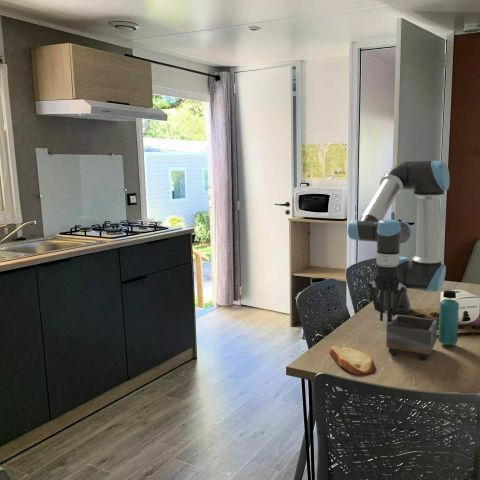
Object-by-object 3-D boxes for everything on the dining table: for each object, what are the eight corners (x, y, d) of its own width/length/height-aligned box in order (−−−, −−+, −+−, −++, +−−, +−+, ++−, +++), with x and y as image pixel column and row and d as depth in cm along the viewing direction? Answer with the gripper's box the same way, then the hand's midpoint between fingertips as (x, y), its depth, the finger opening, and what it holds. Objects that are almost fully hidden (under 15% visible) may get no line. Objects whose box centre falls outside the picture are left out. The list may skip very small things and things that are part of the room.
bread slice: (332, 349, 178) (332, 339, 177) (383, 358, 169) (383, 347, 168) (313, 367, 162) (313, 356, 162) (369, 379, 154) (369, 367, 153)
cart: (395, 341, 182) (396, 314, 181) (435, 348, 175) (437, 319, 174) (385, 355, 170) (386, 325, 169) (429, 362, 163) (430, 332, 162)
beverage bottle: (459, 349, 174) (462, 293, 171) (439, 348, 176) (441, 293, 173) (455, 342, 181) (458, 289, 178) (435, 341, 182) (438, 288, 179)
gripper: (365, 265, 172) (364, 330, 176) (404, 268, 166) (402, 336, 170) (371, 261, 179) (369, 324, 183) (409, 264, 172) (406, 329, 176)
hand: (385, 330), depth 176 cm, fingers closed
